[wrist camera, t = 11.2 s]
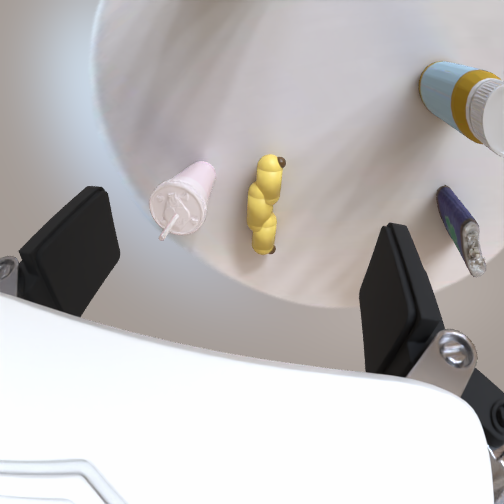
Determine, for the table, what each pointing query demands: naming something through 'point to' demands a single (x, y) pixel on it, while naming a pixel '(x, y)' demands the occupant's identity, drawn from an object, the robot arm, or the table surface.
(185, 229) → the smoothie
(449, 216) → the flask
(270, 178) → the yellow lumpy bar
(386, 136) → the table surface
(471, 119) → the bottle
